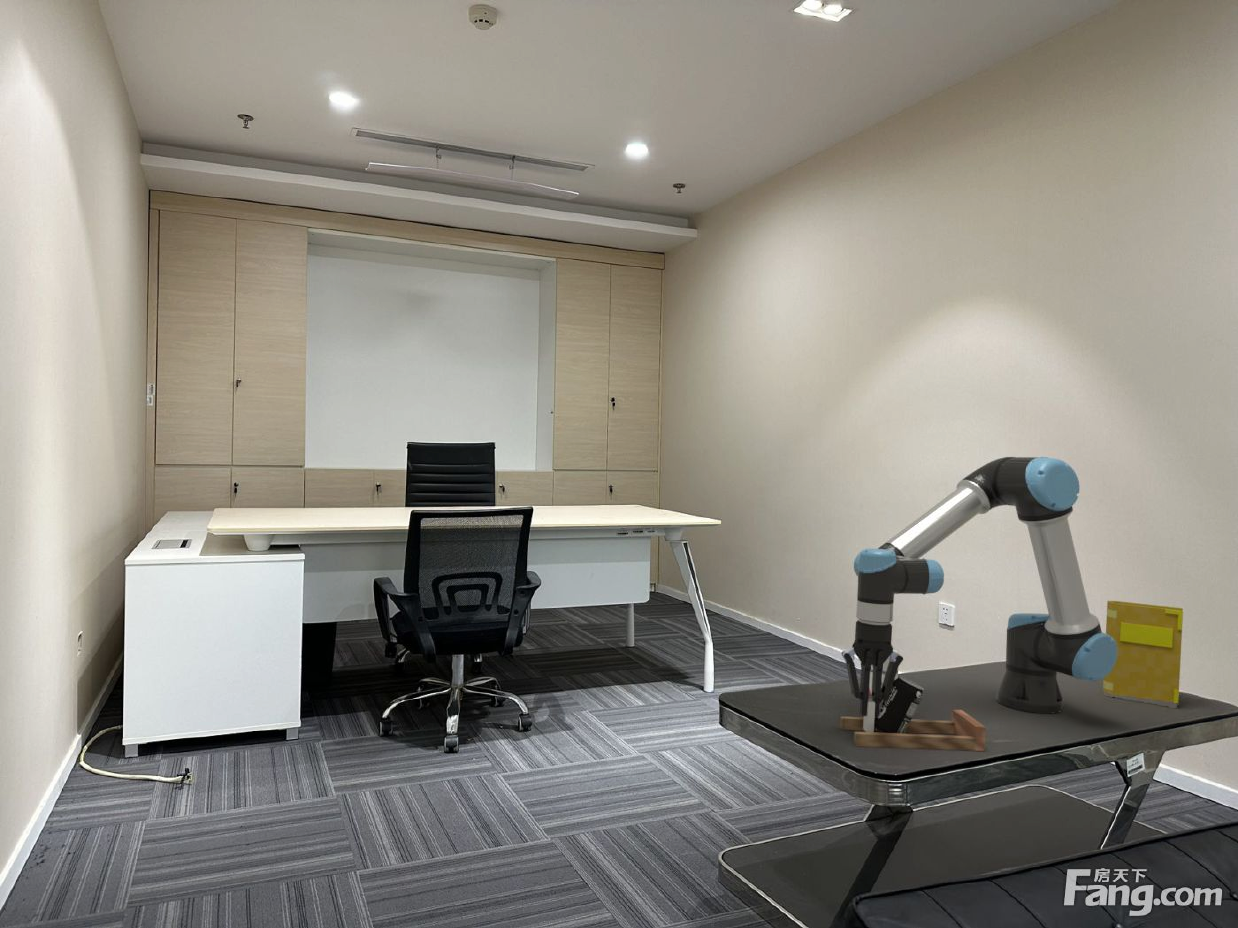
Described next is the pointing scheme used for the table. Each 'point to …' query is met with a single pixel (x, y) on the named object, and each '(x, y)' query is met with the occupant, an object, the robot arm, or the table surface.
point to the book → (1145, 650)
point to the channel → (962, 726)
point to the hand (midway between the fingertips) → (868, 730)
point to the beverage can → (899, 706)
